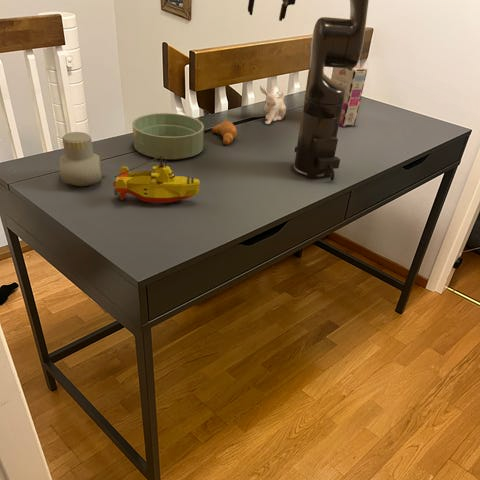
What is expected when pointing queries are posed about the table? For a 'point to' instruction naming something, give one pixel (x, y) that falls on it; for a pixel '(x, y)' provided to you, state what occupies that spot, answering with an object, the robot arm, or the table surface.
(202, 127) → the bowl
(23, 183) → the table surface
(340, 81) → the candy bar box
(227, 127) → the croissant
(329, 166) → the robot arm
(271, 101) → the rabbit figurine
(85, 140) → the air freshener
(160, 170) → the toy boat
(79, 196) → the table surface
